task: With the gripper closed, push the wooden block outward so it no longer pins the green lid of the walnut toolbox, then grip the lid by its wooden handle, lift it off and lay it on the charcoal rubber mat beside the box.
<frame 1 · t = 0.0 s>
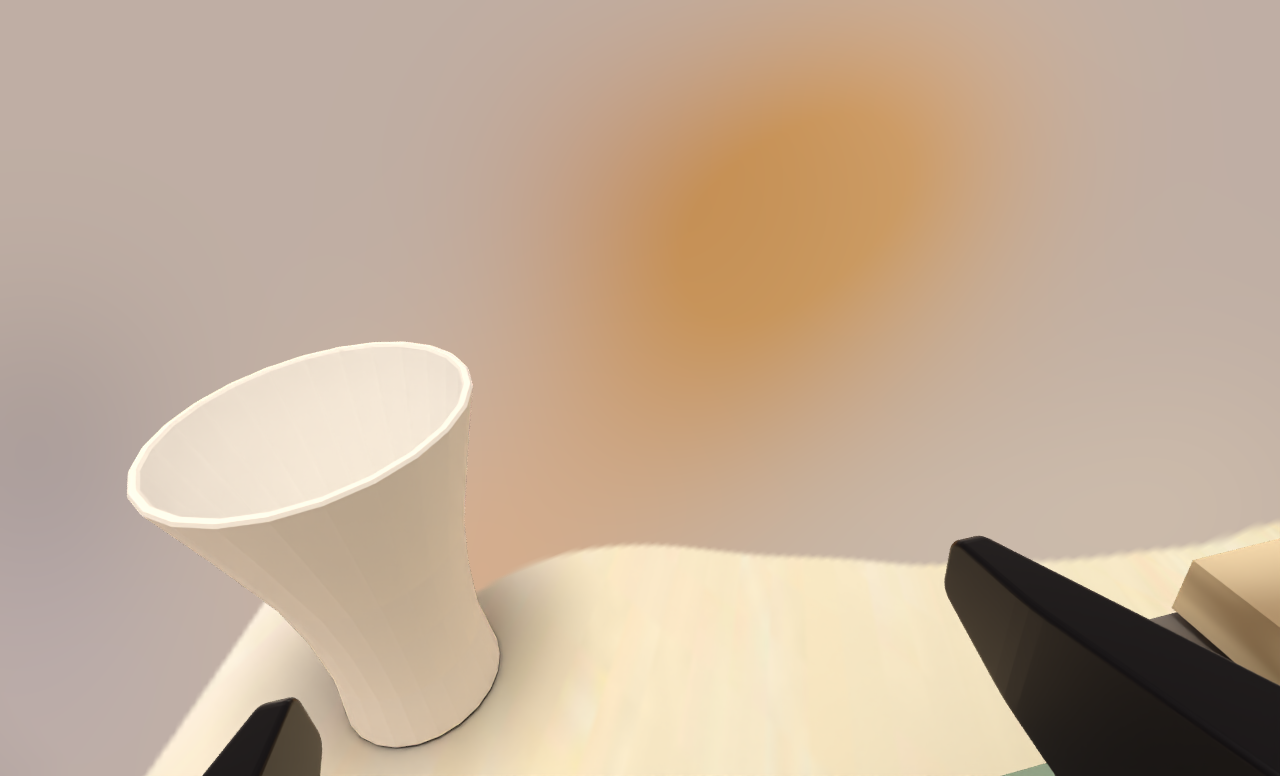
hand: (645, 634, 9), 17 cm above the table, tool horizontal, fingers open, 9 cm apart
cup: (426, 677, 28), on the table
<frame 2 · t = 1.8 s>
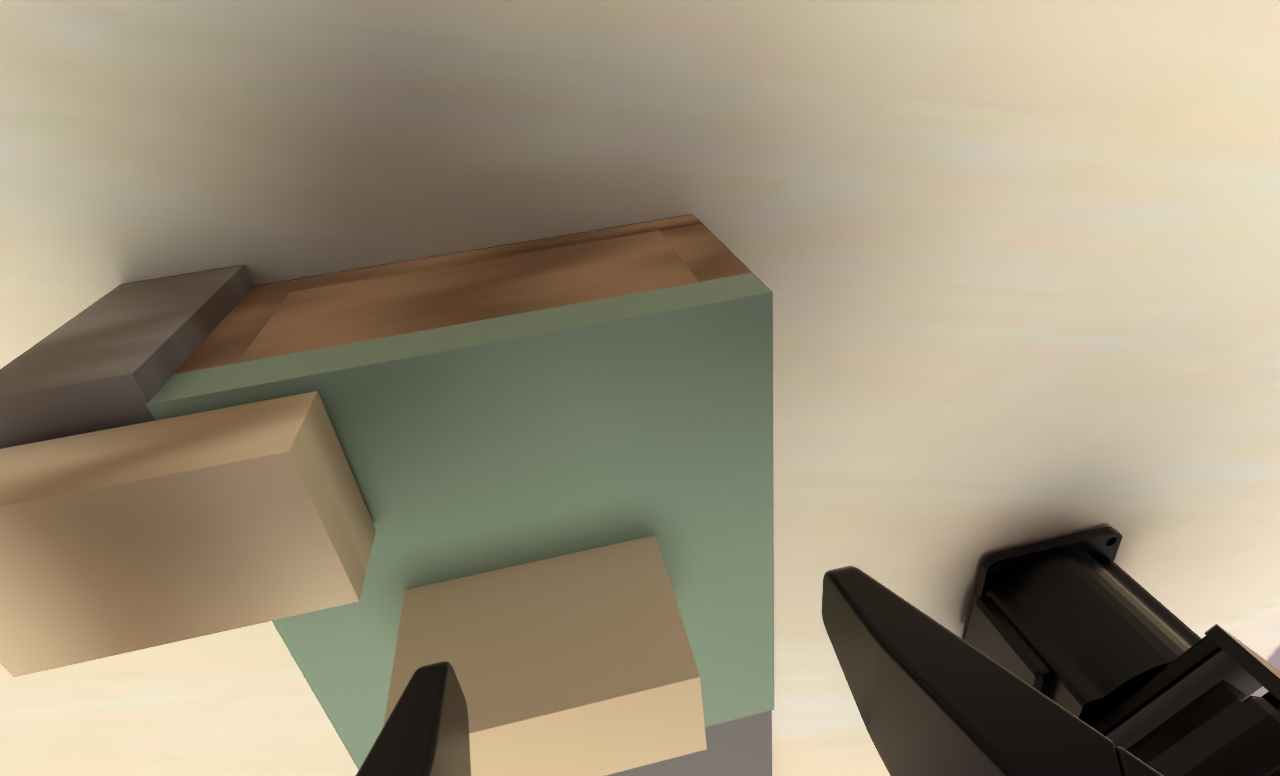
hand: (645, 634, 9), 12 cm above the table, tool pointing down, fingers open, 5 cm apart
lid: (539, 562, 17), point 5 cm above the table, touching toolbox
wooden block: (169, 530, 12), point 7 cm above the table, slide at 0.0 cm
toolbox: (530, 454, 21), on the table
mat: (599, 744, 30), on the table
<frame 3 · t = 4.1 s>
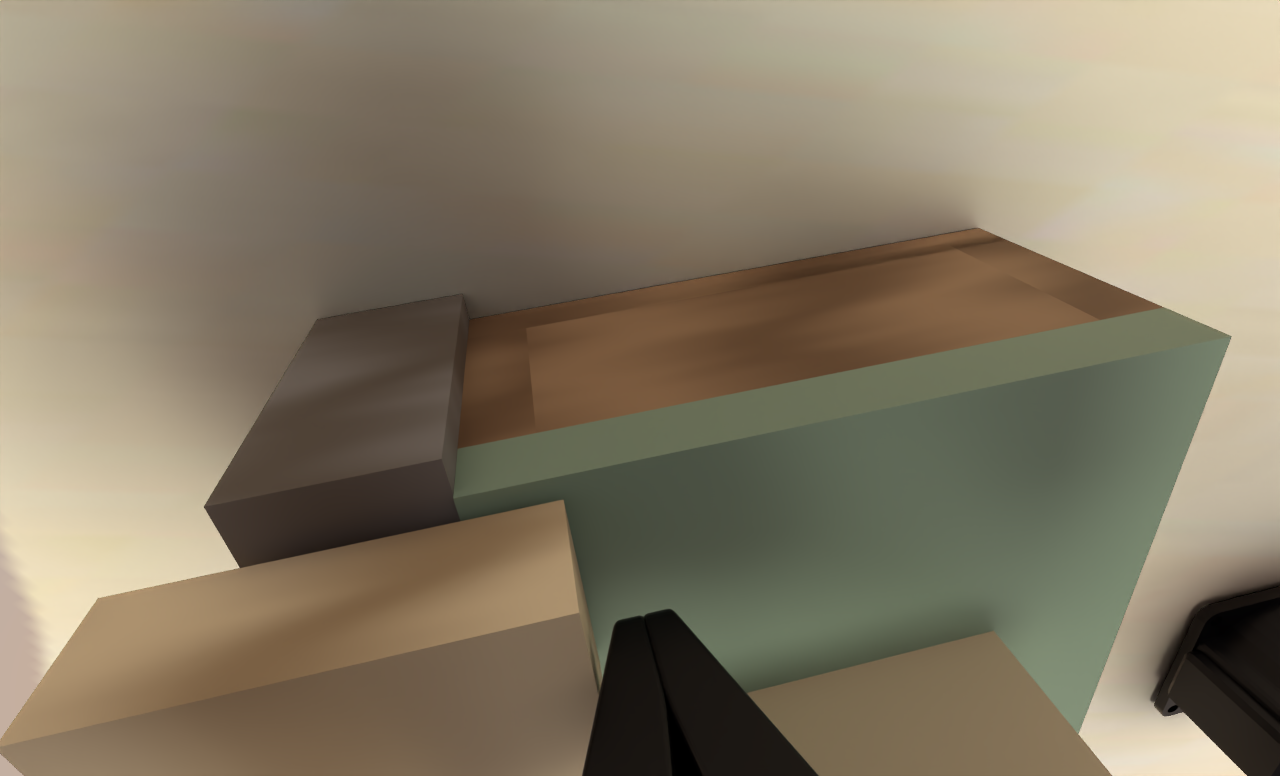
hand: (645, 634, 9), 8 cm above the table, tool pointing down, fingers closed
lid: (820, 655, 14), point 5 cm above the table, touching toolbox
wooden block: (369, 695, 9), point 7 cm above the table, slide at 1.6 cm, touching gripper
toolbox: (744, 507, 18), on the table
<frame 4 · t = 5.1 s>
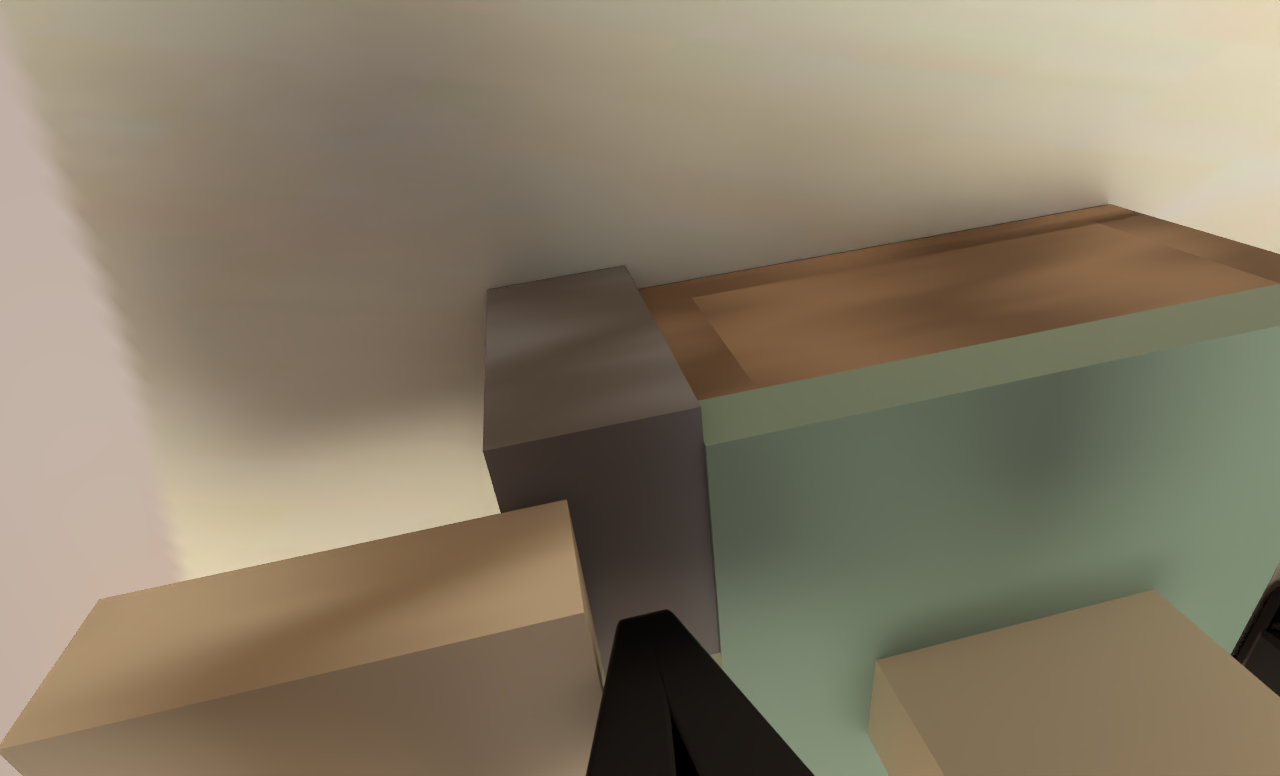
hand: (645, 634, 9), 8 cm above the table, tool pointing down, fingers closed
lid: (971, 617, 14), point 5 cm above the table, touching toolbox
wooden block: (372, 696, 9), point 7 cm above the table, slide at 5.1 cm, touching gripper
toolbox: (861, 481, 19), on the table
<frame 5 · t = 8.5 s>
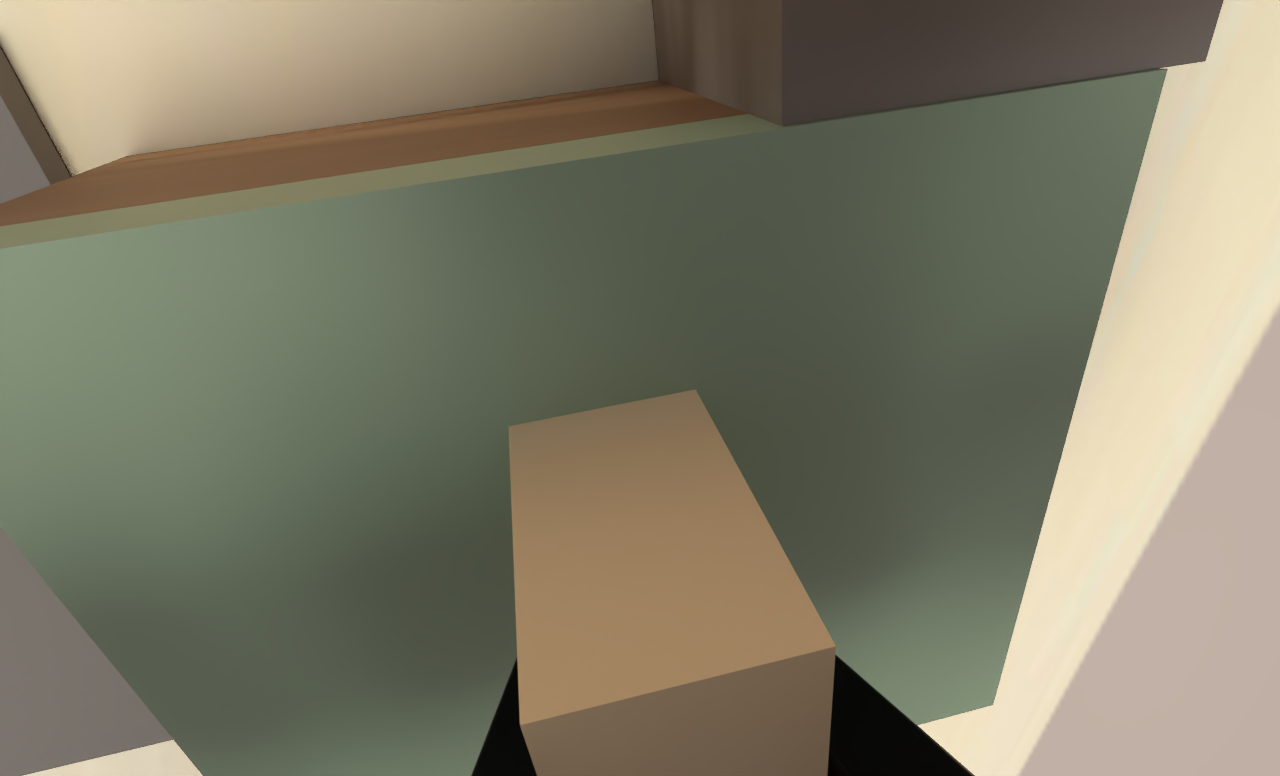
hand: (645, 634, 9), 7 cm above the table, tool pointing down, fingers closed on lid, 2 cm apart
lid: (617, 523, 11), point 5 cm above the table, touching gripper, toolbox
toolbox: (582, 379, 15), on the table
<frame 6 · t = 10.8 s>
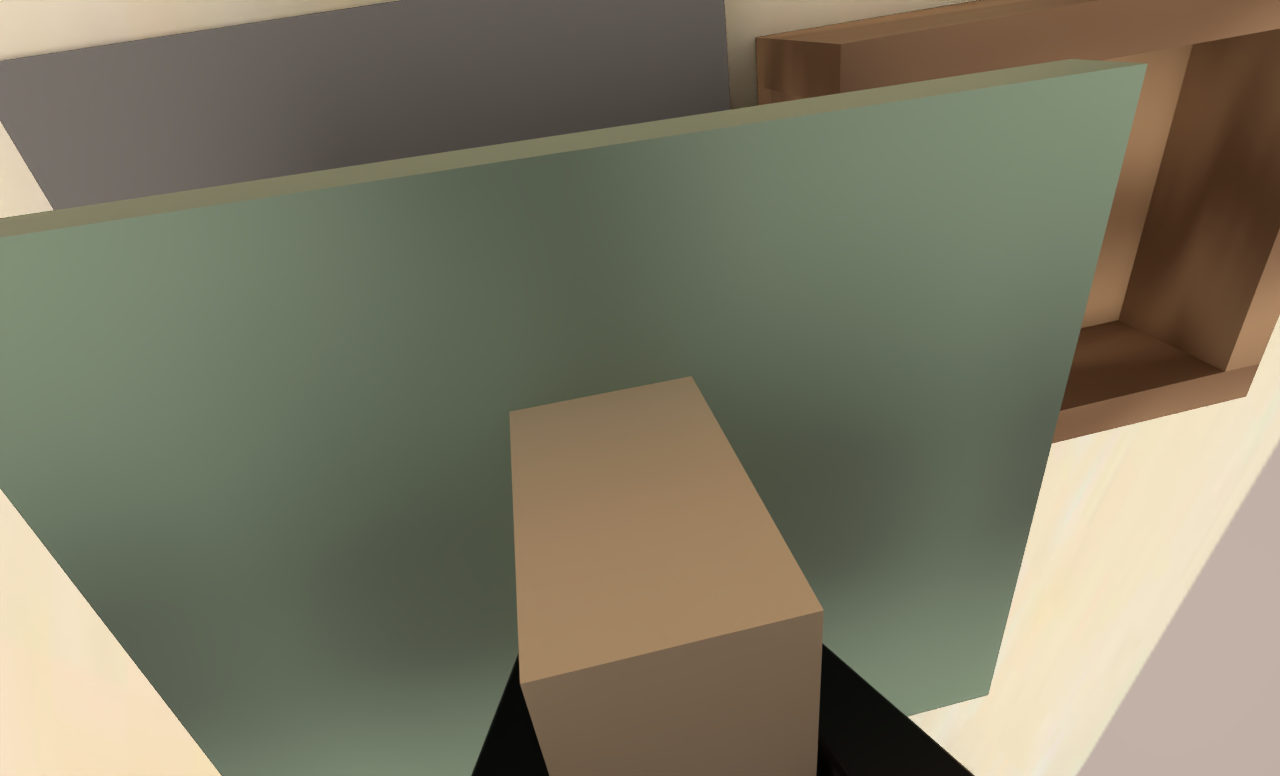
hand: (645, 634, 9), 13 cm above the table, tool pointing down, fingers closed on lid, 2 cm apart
lid: (616, 511, 11), point 10 cm above the table, touching gripper
toolbox: (968, 210, 21), on the table
mat: (461, 312, 20), on the table
when the fingers open (4 cm above the table, at t = 13.0 s): lid stays where it is, resting on mat.
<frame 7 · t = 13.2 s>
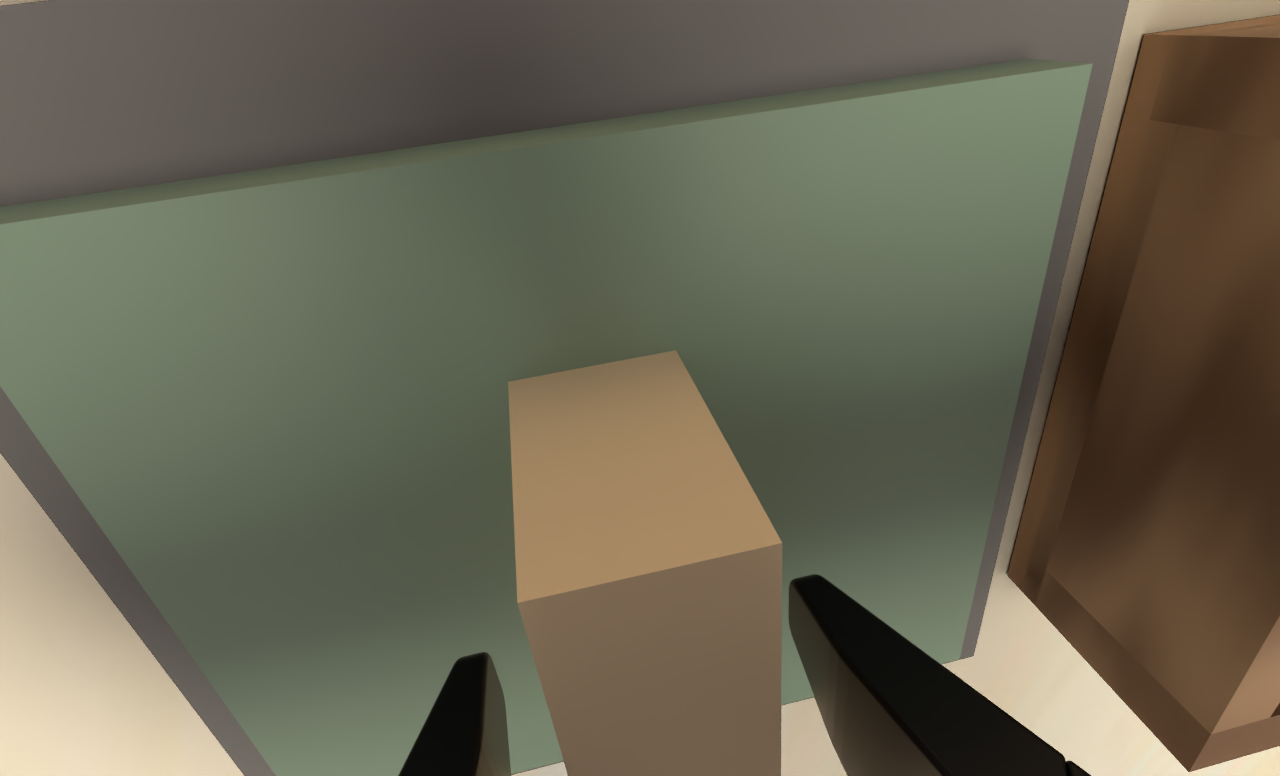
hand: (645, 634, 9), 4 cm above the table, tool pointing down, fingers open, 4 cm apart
lid: (608, 480, 12), point 1 cm above the table, touching mat
mat: (602, 461, 12), on the table
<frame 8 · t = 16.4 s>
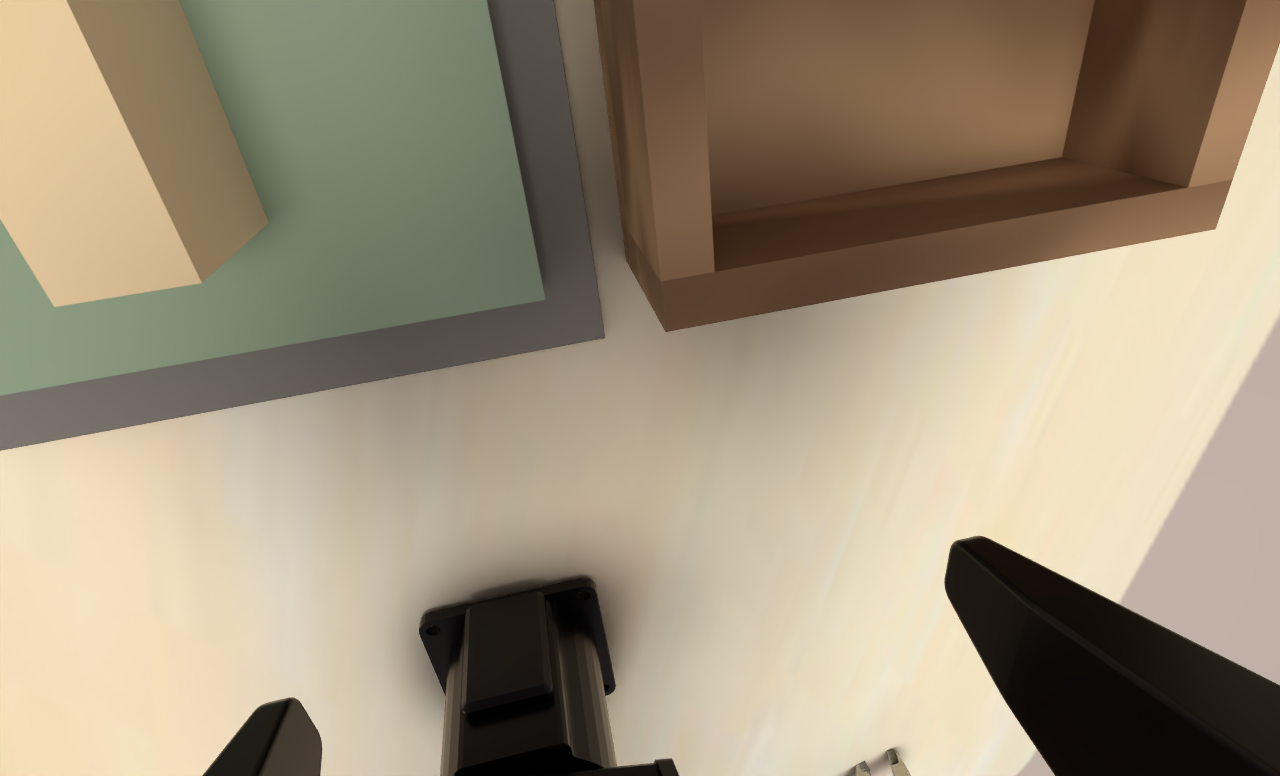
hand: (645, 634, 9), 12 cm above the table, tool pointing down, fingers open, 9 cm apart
lid: (173, 81, 14), point 1 cm above the table, touching mat
mat: (183, 79, 15), on the table
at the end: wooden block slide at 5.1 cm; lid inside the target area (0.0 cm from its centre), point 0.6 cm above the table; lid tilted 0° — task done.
